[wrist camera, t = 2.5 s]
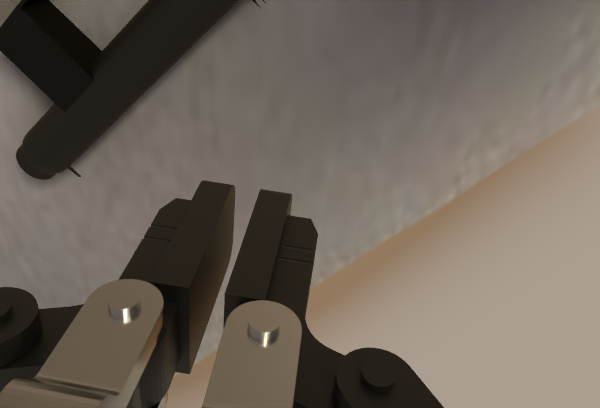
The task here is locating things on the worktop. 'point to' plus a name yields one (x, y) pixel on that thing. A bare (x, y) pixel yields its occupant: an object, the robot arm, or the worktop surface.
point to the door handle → (93, 69)
